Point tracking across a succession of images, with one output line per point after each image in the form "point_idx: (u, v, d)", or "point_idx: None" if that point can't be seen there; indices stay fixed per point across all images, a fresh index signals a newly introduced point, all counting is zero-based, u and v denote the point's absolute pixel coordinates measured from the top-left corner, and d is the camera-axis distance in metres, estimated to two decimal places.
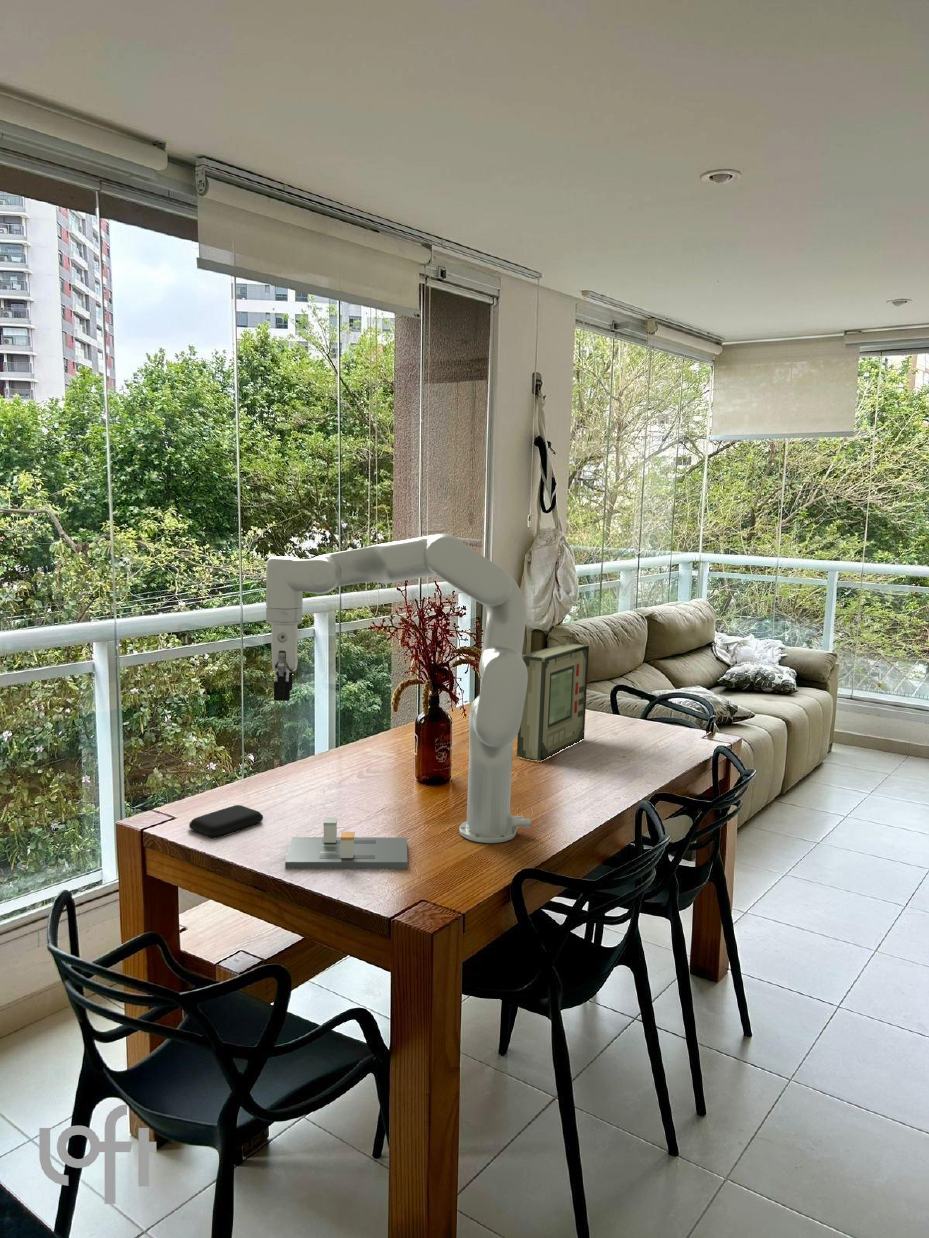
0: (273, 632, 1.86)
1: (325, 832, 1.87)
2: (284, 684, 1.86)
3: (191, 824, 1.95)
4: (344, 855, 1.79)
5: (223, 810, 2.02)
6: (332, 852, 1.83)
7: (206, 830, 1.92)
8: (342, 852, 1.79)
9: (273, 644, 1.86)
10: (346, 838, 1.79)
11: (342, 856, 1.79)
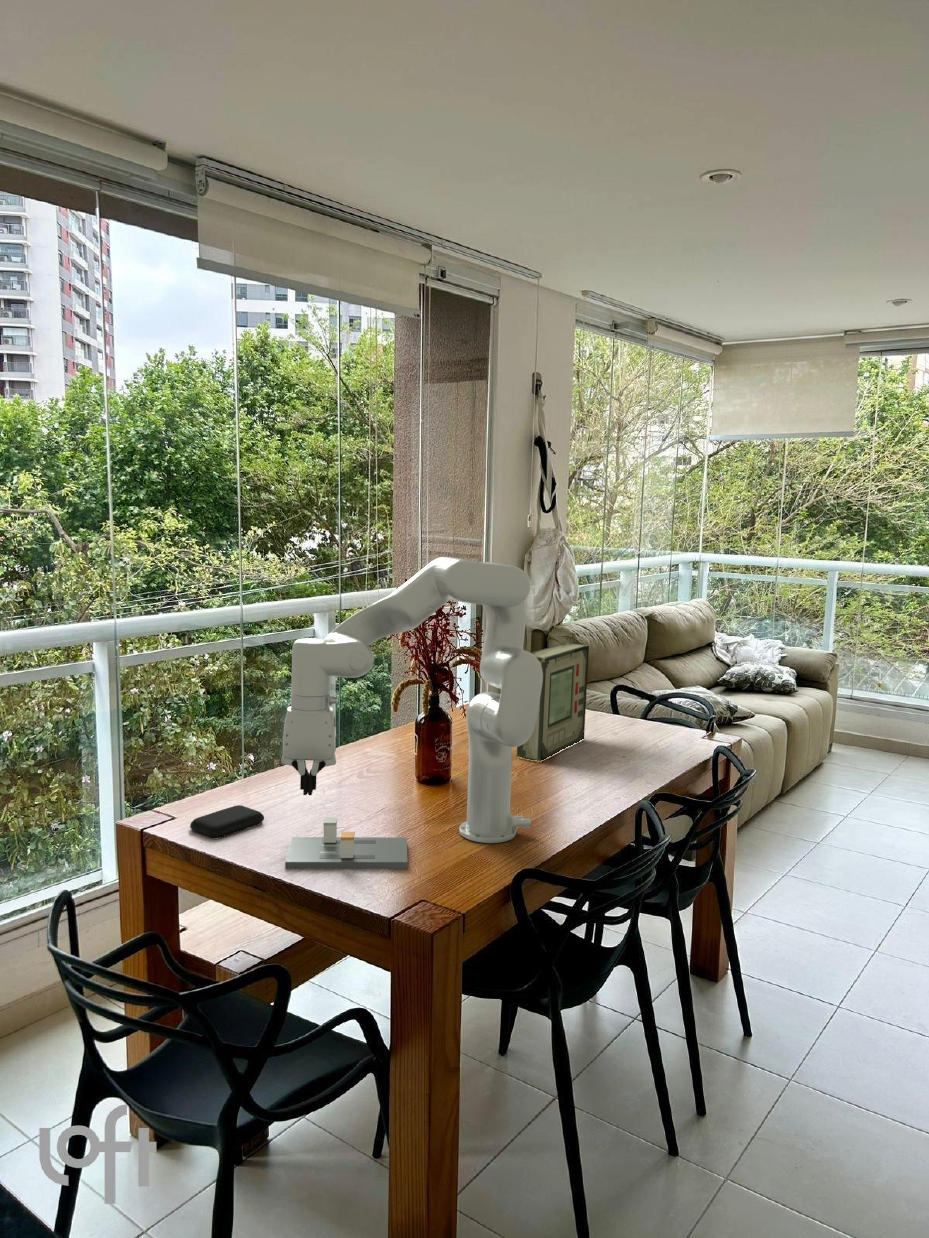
0: (330, 720, 1.75)
1: (325, 832, 1.87)
2: (316, 774, 1.79)
3: (192, 824, 1.95)
4: (344, 855, 1.79)
5: (224, 810, 2.02)
6: (332, 852, 1.83)
7: (207, 830, 1.92)
8: (342, 852, 1.79)
9: (332, 732, 1.75)
10: (346, 838, 1.79)
11: (342, 856, 1.79)
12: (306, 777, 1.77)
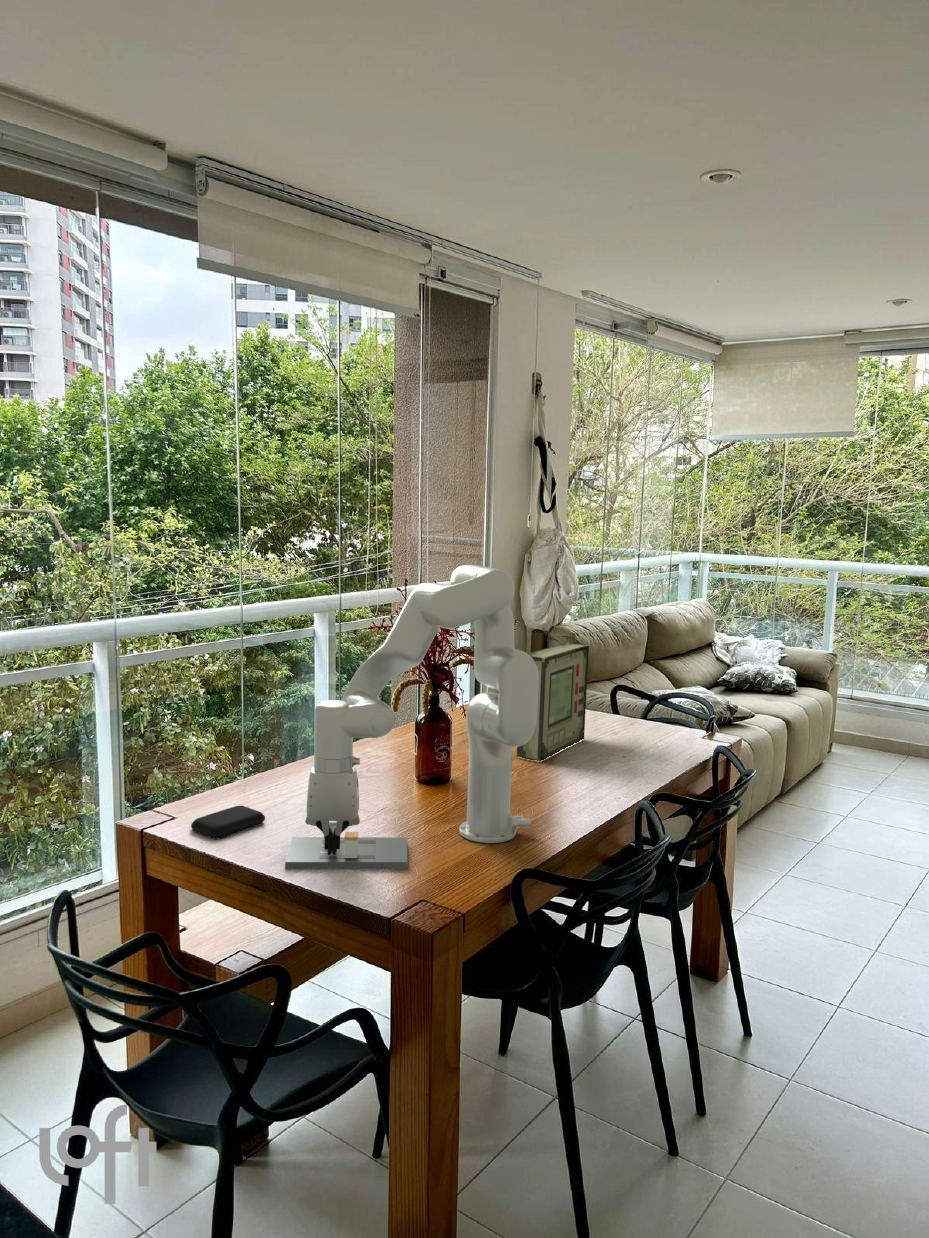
0: (353, 781, 1.77)
1: None
2: None
3: (193, 825, 1.95)
4: (348, 855, 1.79)
5: (225, 810, 2.01)
6: None
7: (208, 831, 1.92)
8: (346, 852, 1.79)
9: (355, 793, 1.77)
10: (350, 838, 1.79)
11: (346, 856, 1.79)
12: (330, 837, 1.79)
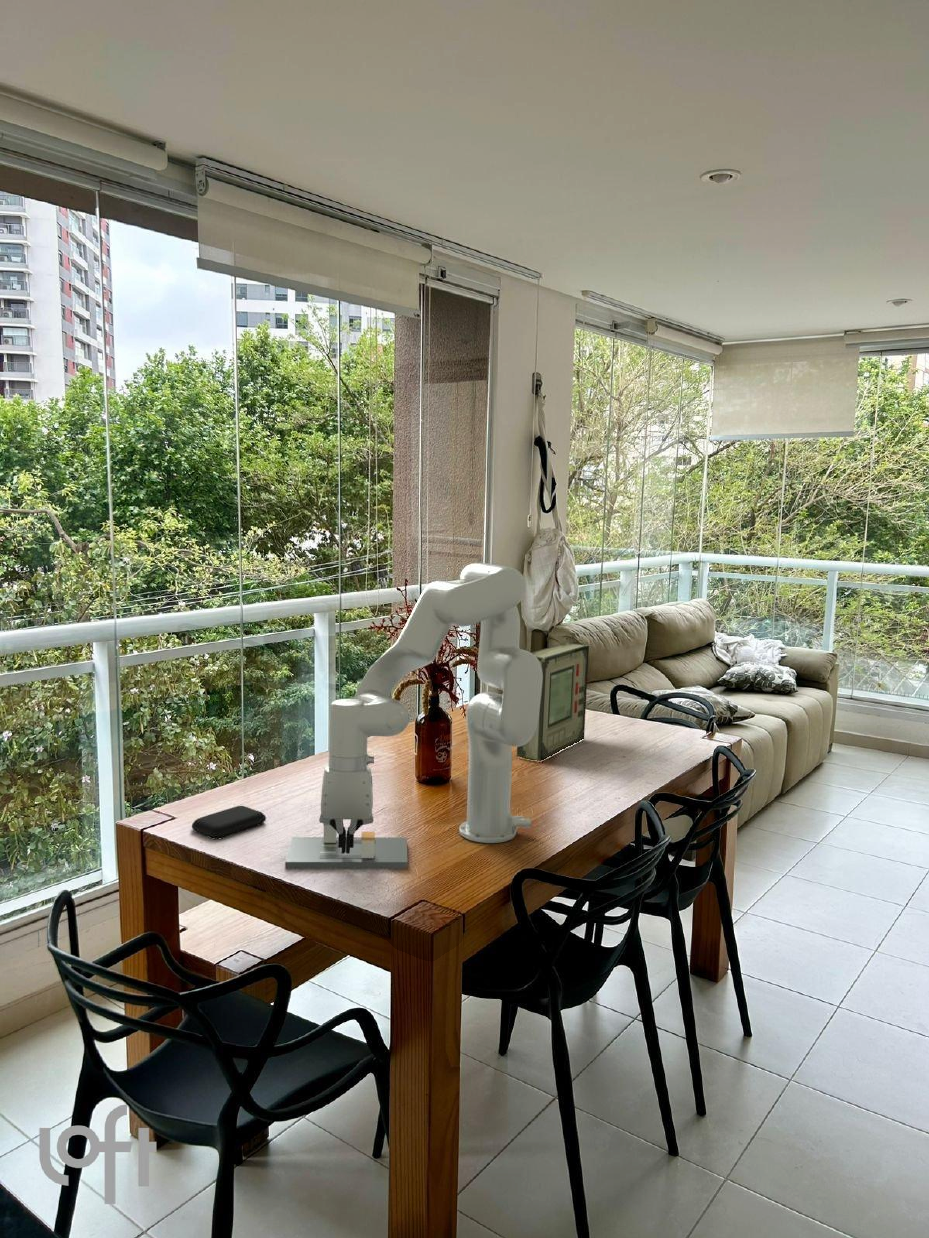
0: (368, 779, 1.77)
1: (325, 832, 1.87)
2: None
3: (194, 825, 1.95)
4: (365, 855, 1.80)
5: (226, 811, 2.01)
6: (332, 852, 1.83)
7: (209, 831, 1.92)
8: (363, 852, 1.80)
9: (370, 791, 1.78)
10: (367, 838, 1.79)
11: (363, 856, 1.80)
12: (344, 836, 1.79)
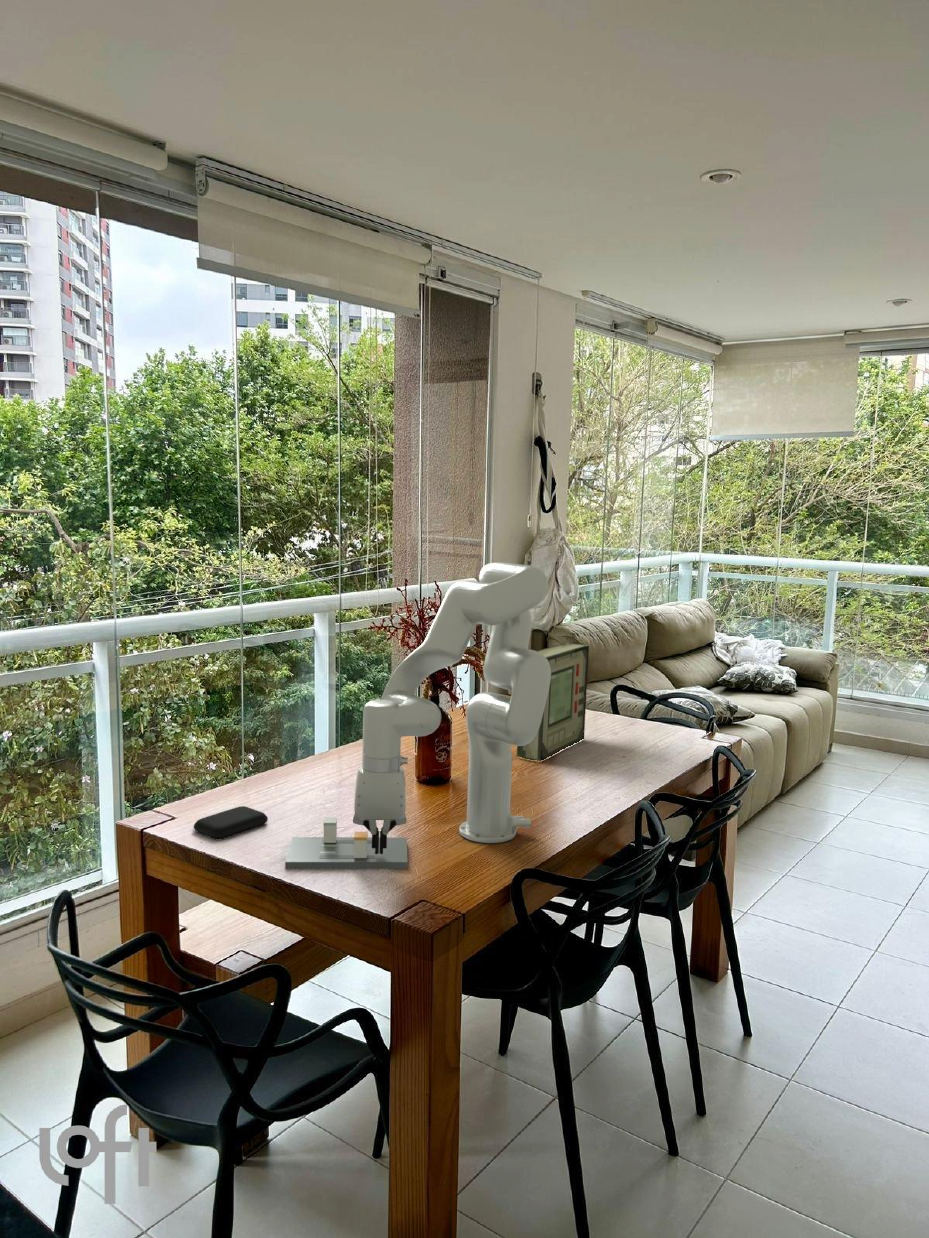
0: (401, 780, 1.78)
1: (325, 832, 1.87)
2: None
3: (195, 825, 1.95)
4: (357, 855, 1.80)
5: (228, 811, 2.01)
6: (332, 852, 1.83)
7: (210, 831, 1.92)
8: (355, 852, 1.79)
9: (403, 792, 1.78)
10: (359, 838, 1.79)
11: (355, 856, 1.80)
12: (378, 836, 1.79)
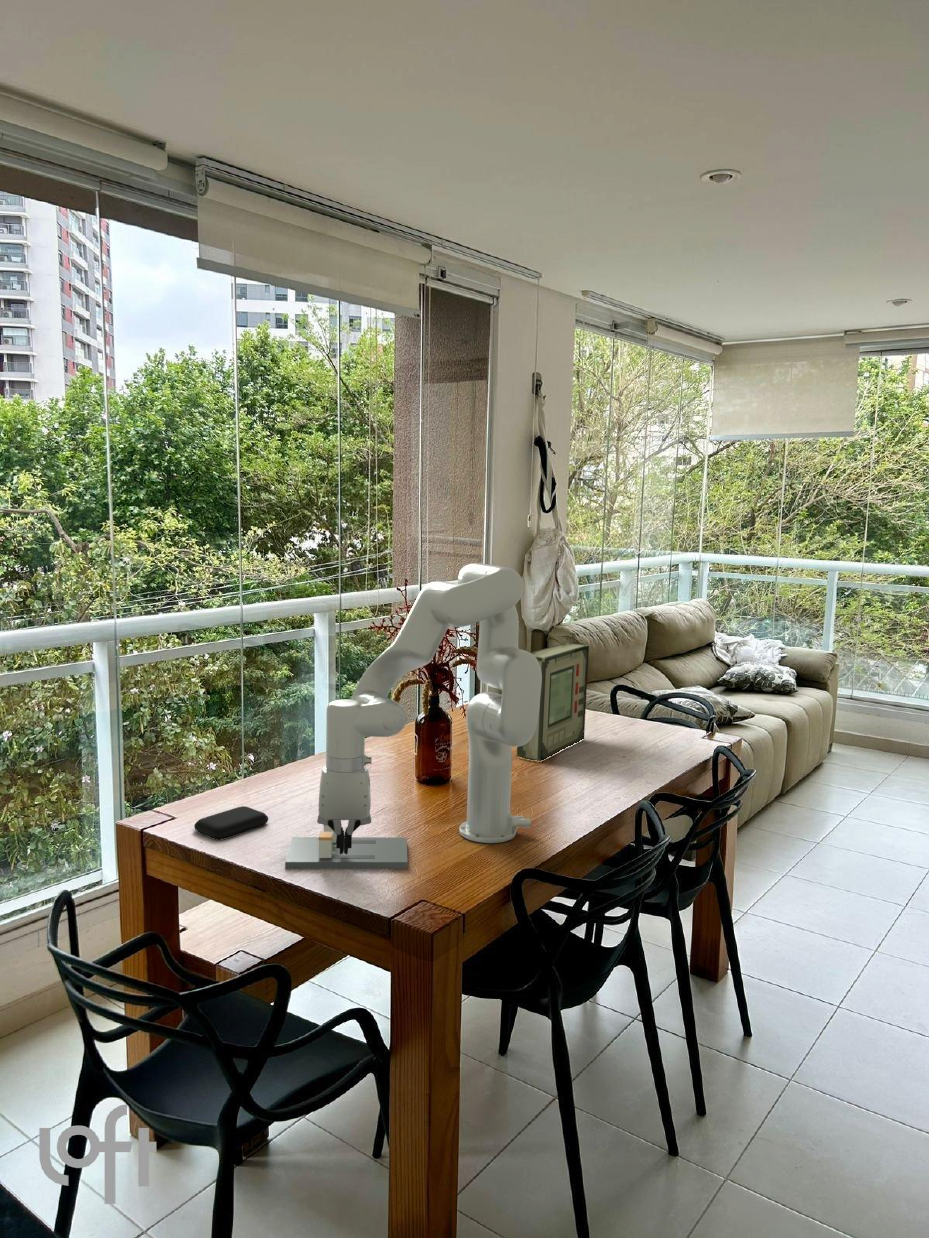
0: (365, 780, 1.77)
1: None
2: None
3: (196, 825, 1.95)
4: (322, 855, 1.79)
5: (228, 811, 2.01)
6: (332, 852, 1.83)
7: (211, 831, 1.92)
8: (320, 852, 1.79)
9: (367, 792, 1.78)
10: (324, 838, 1.79)
11: (320, 856, 1.79)
12: (342, 836, 1.79)
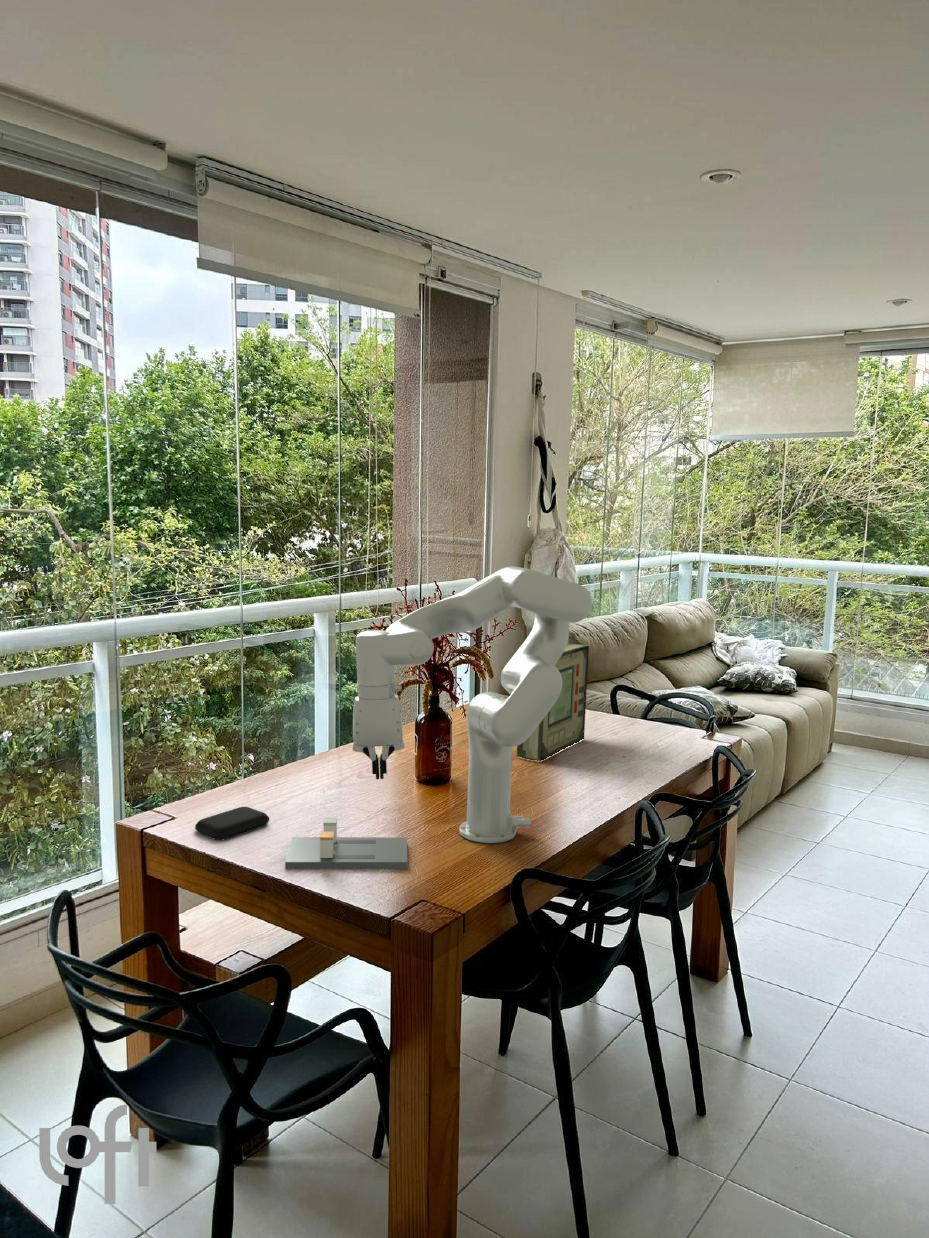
0: (397, 706, 1.84)
1: None
2: None
3: (197, 825, 1.95)
4: (323, 855, 1.79)
5: (229, 811, 2.01)
6: None
7: (212, 832, 1.91)
8: (321, 852, 1.79)
9: (399, 717, 1.84)
10: (325, 838, 1.79)
11: (321, 856, 1.79)
12: (377, 762, 1.86)
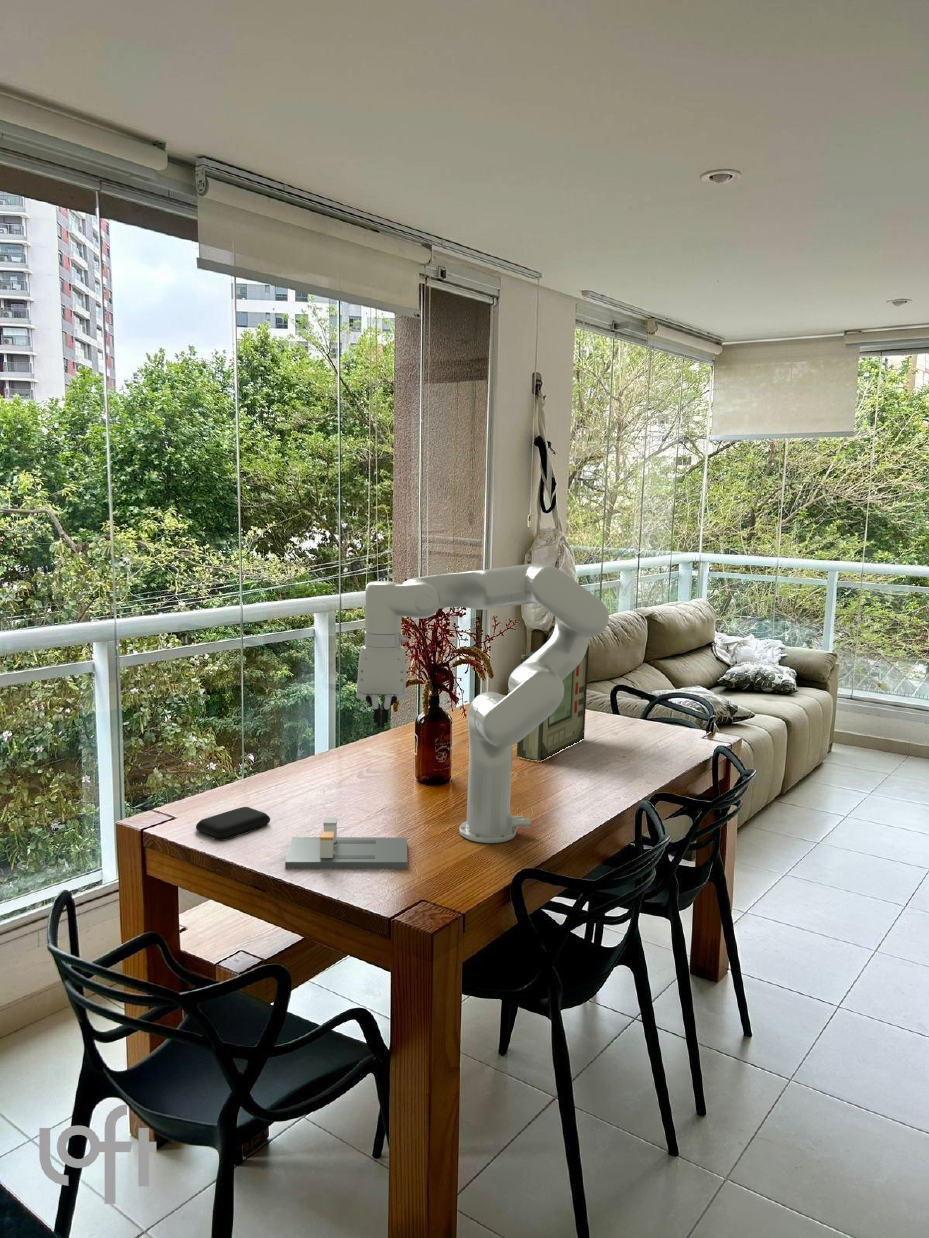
0: (402, 656, 1.88)
1: None
2: None
3: (198, 826, 1.95)
4: (323, 855, 1.79)
5: (230, 812, 2.01)
6: None
7: (212, 832, 1.91)
8: (321, 852, 1.79)
9: (404, 668, 1.88)
10: (325, 838, 1.79)
11: (321, 856, 1.79)
12: (379, 711, 1.89)
